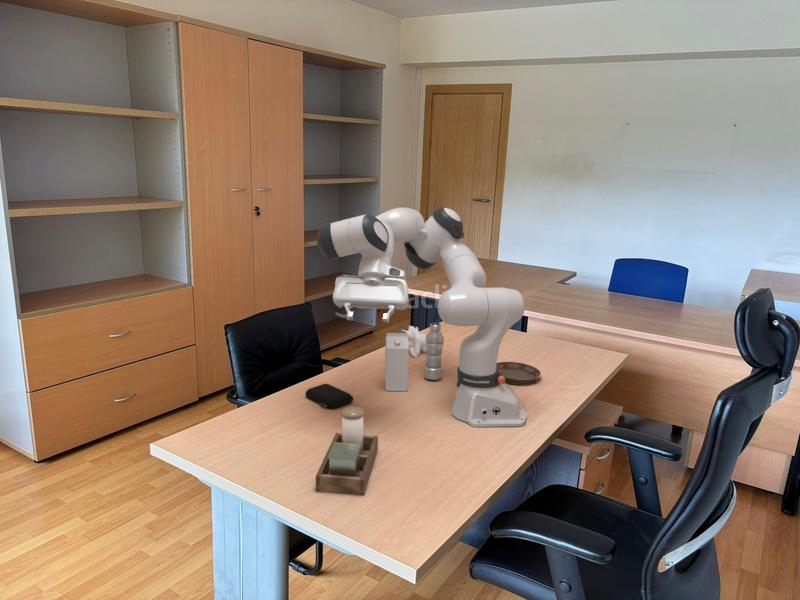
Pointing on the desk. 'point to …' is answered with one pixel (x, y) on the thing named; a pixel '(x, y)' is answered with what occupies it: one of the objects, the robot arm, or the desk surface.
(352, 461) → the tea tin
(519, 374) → the plant saucer
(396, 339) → the milk carton
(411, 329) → the character figurine
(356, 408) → the lidded white canister
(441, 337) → the plastic bottle
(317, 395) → the carrying case or bag
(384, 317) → the robot arm
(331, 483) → the crate
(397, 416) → the desk surface
